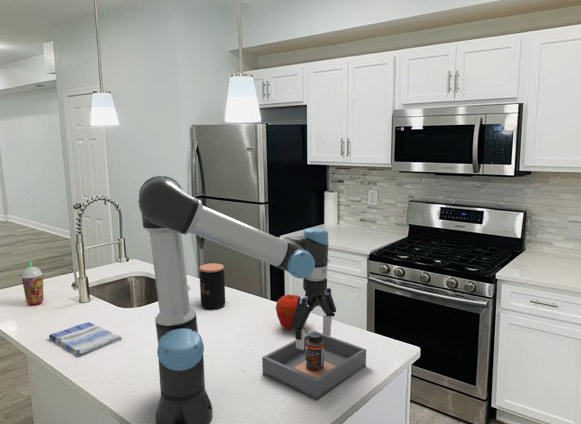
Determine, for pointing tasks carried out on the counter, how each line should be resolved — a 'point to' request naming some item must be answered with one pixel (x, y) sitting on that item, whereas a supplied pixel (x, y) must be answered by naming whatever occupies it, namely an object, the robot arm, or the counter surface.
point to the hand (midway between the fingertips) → (313, 341)
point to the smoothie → (33, 285)
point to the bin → (315, 384)
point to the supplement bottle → (314, 352)
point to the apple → (286, 310)
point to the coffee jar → (212, 286)
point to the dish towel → (84, 338)
